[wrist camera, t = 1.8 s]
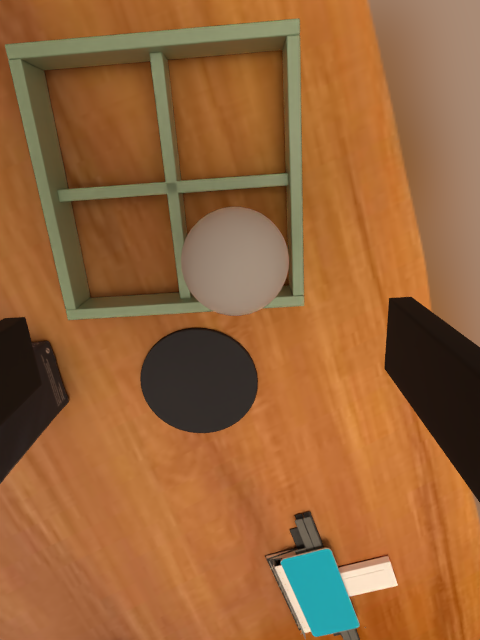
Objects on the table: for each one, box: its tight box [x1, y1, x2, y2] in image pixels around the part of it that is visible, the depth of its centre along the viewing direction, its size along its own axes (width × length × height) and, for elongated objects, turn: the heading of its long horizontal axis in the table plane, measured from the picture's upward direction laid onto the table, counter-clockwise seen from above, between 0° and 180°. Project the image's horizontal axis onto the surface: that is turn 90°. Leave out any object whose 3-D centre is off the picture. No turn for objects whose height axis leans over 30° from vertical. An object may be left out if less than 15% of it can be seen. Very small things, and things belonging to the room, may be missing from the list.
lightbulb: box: [181, 207, 289, 316], centre depth 25 cm, size 6×6×11 cm
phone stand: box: [265, 512, 398, 640], centre depth 42 cm, size 20×12×2 cm, turn 20°
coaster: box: [141, 328, 258, 433], centre depth 34 cm, size 10×10×1 cm
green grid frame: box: [5, 19, 304, 320], centre depth 28 cm, size 17×17×3 cm
